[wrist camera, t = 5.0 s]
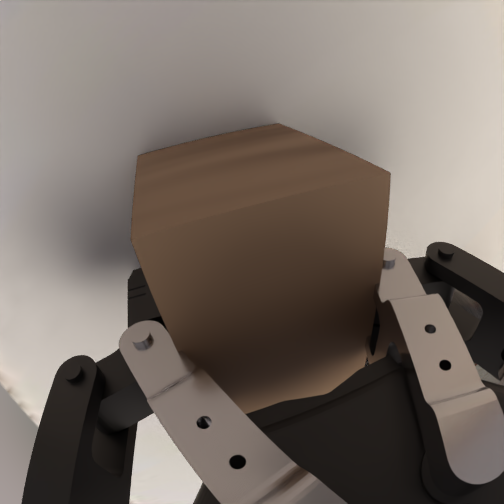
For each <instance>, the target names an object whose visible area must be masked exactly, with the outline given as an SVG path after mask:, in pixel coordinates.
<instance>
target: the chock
mask: <svg viewBox="0 0 504 504" xmlns="http://www.w3.org/2000/svg"><path fill="white" fill-rule="evenodd" d="M390 175H391V173H390V172H388V171H386V170H384V169H382V168H380V167H378V166H376V165H374V164H372V163H370V162H368V161H365V160H363V159H361V158H359V157H357V156H355V155H353V154H351V153H348V152H346V151H344V150H342V149H340V148H337V147H335V146H333V145H330V144H328V143H326V142H323V141H321V140H319V139H316V138H314V137H312V136H309V135H307V134H304V133H302V132H299V131H297V130H294V129H292V128H289V127H287V126H284V125H281V124H273V125H267V126H261V127H256V128H250V129H245V130H240V131H235V132H230V133H226V134H221V135H216V136H212V137H207V138H203V139H199V140H195V141H191V142H186V143H182V144H179V145H175V146H171V147H167V148H163V149H160V150H156V151H152V152H149V153H145V154H142V155H139V156H138V158H137V166H136V176H135V185H134V196H133V209H132V223H131V242H132V244H133V247H134V250H135V253H136V255H137V258H138V260H139V263H140V266H141V268H142V271H143V273H144V276H145V278H146V281H147V283H148V286H149V288H150V291H151V293H152V296H153V298H154V300H155V303H156V305H157V307H158V310H159V312H160V314H161V317H162V319H163V321H164V323H165V326H166V328H167V330H168V332H169V335H170V337H171V339H172V341H173V343H174V345H175V348H176V350H177V352H178V351H181V350H182V351H183V352H184V353H185V354H186V356H187V357H188V358H189V359H190V360H191V362H192V363H193V364H194V365H195V366H196V367H197V368H200V367H201V368H203V369H204V370H205V371H206V372H207V373H208V374H209V375H210V377H211V378H212V379H213V380H214V381H215V382H216V383H217V384H218V386H219V387H220V388H221V389H222V390H223V391H224V392H225V393H226V394H227V395H228V397H229V398H230V399H231V400H232V401H233V402H234V403H235V404H236V405H237V406H238V407H239V408H240V409H241V410H242V411H243V413H244V414H247V413H250V412H253V411H256V410H259V409H262V408H265V407H268V406H271V405H274V404H276V403H279V402H282V401H286V400H293V399H300V398H306V397H312V396H318V395H324V394H327V393H329V392H331V391H332V390H333V389H335V388H336V387H337V386H339V385H340V384H341V383H342V382H344V381H345V380H346V379H348V378H349V377H350V376H351V375H353V374H354V373H355V372H356V371H358V370H359V369H361V368H363V367H365V362H366V358H367V354H366V350H365V343H366V337H367V336H369V335H371V334H372V329H373V323H374V318H375V312H376V305H375V302H374V300H373V295H374V288H375V284H377V283H380V281H381V274H382V266H383V258H384V250H385V241H386V231H387V220H388V208H389V194H390Z"/></svg>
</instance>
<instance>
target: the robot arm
mask: <svg viewBox="0 0 504 504" xmlns="http://www.w3.org/2000/svg"><path fill="white" fill-rule="evenodd" d="M455 289H457V290H459V291H460V292H462V293H463V294H465V295H467V296H468V297H470V298H471V299H473V300H475V301H476V302H478V303H479V304H480V305H481V307H482V310H483V315H482V318H481V320H480V319H478V318H476V317H475V316H473V315H472V314H470V313H469V312H467V311H466V310H464V309H463V308H461V307H460V306H458V305H456V304H455V303H453V302H452V298H453V295H454V292H455ZM373 300H374V302H375V305H376V312H375V318H374V323H373V329H372V334H371V335H369V336H367V337H366V343H365V350H366V354H367V358H368V362H369V365H367V366H365V367H363V368H361V369H359V370H358V371H356V372H355V373H354V374H353V375H351V376H350V377H349V378H348V379H346V380H345V381H344V382H342V383H341V384H340V385H339V386H337V387H336V388H335V389H333V390H332V391H331V392H329V393H327V394H324V395H318V396H312V397H306V398H300V399H293V400H286V401H282V402H279V403H276V404H274V405H271V406H268V407H265V408H262V409H259V410H256V411H253V412H250V413H247V414H244V413H243V411H242V410H241V409H240V408H239V407H238V406H237V405H236V404H235V403H234V402H233V401H232V400H231V399H230V398H229V397H228V395H227V394H226V393H225V392H224V391H223V390H222V389H221V388H220V387H219V386H218V384H217V383H216V382H215V381H214V380H213V379H212V378H211V377H210V375H209V374H208V373H207V372H206V371H205V370H204V369H203V368H201V367H200V368H197V367H196V366H195V365H194V364H193V363H192V362H191V360H190V359H189V358H188V357H187V356H186V354H185V353H184V352H183V351H182V350H181V351H178V352H177V350H176V348H175V345H174V343H173V341H172V339H171V337H170V335H169V332H168V330H167V328H166V326H165V323H164V321H163V319H162V317H161V314H160V312H159V310H158V307H157V305H156V303H155V300H154V298H153V296H152V293H151V291H150V288H149V286H148V283H147V281H146V278H145V276H144V273H143V271H142V268H139V269H136V270H133V272H132V274H131V276H130V278H129V279H128V329H126V330H125V332H124V333H123V334H122V336H121V338H120V340H119V349H118V350H117V351H115V352H114V353H112V354H111V355H109V356H107V357H106V358H104V359H102V360H100V361H98V362H96V363H95V362H94V360H93V359H92V358H90V357H88V356H85V355H79V356H74V357H72V358H70V359H68V360H67V361H65V362H64V363H63V364H62V365H61V366H60V368H59V369H58V371H57V373H56V375H55V378H54V381H53V384H52V387H51V390H50V393H49V396H48V399H47V402H46V405H45V408H44V412H43V415H42V418H41V422H40V425H39V429H38V432H37V436H36V440H35V443H34V447H33V451H32V455H31V460H30V464H29V468H28V473H27V477H26V482H25V487H24V493H23V498H22V504H129V499H130V487H131V476H132V466H133V456H134V447H135V439H136V431H137V423H138V421H140V420H142V419H144V418H146V417H147V416H149V415H151V414H153V413H155V415H156V416H157V418H158V419H159V421H160V423H161V424H162V426H163V427H164V429H165V430H166V432H167V433H168V435H169V436H170V438H171V439H172V441H173V442H174V443H175V445H176V446H177V448H178V449H179V451H180V452H181V453H182V455H183V456H184V457H185V459H186V460H187V462H188V463H189V464H190V466H191V467H192V468H193V470H194V471H195V472H196V474H197V475H198V476H199V477H200V479H201V480H202V481H203V483H202V485H201V488H200V490H199V492H198V494H197V496H196V499H195V501H194V503H193V504H504V273H503V272H501V271H500V270H498V269H496V268H494V267H493V266H491V265H489V264H487V263H486V262H484V261H482V260H480V259H478V258H477V257H475V256H473V255H471V254H469V253H467V252H466V251H464V250H462V249H460V248H458V247H456V246H454V245H452V244H449V243H446V242H435V243H432V244H430V245H429V246H428V247H427V251H426V256H425V257H419V258H410V259H407V258H406V256H405V255H404V254H403V253H401V252H400V251H398V250H396V249H392V248H387V247H385V250H384V258H383V266H382V274H381V281H380V283H377V284H375V288H374V295H373ZM473 362H475V363H476V364H477V365H479V366H480V367H482V368H483V369H484V370H486V371H487V372H488V373H490V374H491V375H492V376H494V377H495V378H496V379H498V380H499V381H500V382H501V384H500V385H499V384H496V383H492V382H489V381H485V380H482V379H480V377H479V374H478V372H477V370H476V367H475V365H474V363H473Z"/></svg>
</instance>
